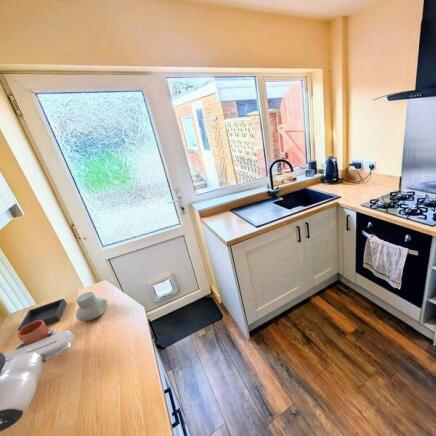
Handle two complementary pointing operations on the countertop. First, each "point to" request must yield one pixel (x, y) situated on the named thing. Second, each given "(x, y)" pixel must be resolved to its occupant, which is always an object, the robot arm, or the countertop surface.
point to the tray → (45, 313)
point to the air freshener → (90, 306)
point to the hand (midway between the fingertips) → (39, 336)
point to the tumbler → (34, 332)
